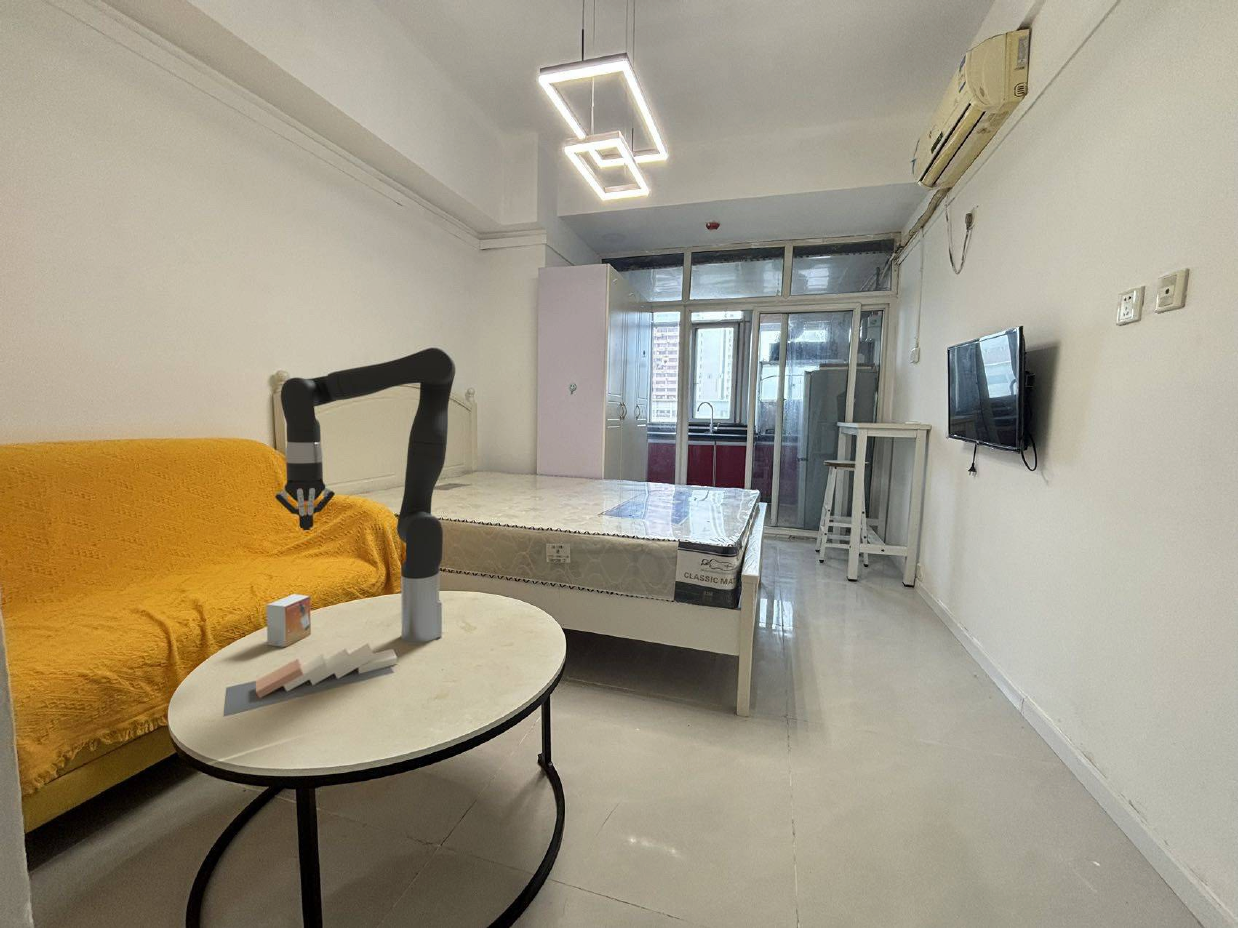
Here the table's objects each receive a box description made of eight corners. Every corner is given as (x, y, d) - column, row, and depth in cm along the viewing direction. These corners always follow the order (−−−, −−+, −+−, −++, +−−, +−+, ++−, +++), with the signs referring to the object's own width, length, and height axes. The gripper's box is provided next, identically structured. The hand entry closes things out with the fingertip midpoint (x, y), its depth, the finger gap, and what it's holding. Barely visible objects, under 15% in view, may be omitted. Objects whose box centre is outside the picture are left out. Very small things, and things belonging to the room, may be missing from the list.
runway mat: (382, 652, 121) (382, 651, 121) (393, 673, 112) (393, 672, 111) (226, 689, 103) (226, 687, 103) (223, 718, 94) (223, 716, 94)
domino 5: (355, 664, 114) (392, 655, 119) (358, 673, 110) (397, 663, 115) (355, 657, 114) (392, 648, 119) (358, 666, 110) (397, 657, 115)
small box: (285, 648, 122) (284, 606, 121) (266, 645, 123) (265, 604, 122) (311, 634, 130) (310, 595, 129) (293, 631, 131) (292, 593, 130)
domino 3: (310, 674, 109) (348, 654, 113) (312, 685, 105) (351, 663, 109) (307, 669, 109) (345, 648, 113) (309, 679, 105) (348, 657, 109)
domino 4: (334, 669, 112) (370, 648, 116) (337, 678, 108) (374, 657, 112) (331, 663, 112) (367, 643, 116) (334, 673, 108) (372, 651, 112)
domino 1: (259, 687, 104) (301, 664, 108) (259, 698, 100) (303, 674, 104) (255, 681, 103) (297, 658, 108) (255, 692, 99) (299, 668, 104)
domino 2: (285, 680, 107) (325, 659, 111) (286, 691, 103) (328, 668, 107) (282, 675, 106) (322, 653, 110) (283, 685, 102) (325, 662, 106)
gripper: (272, 462, 114) (274, 536, 116) (337, 461, 122) (338, 529, 124) (271, 459, 121) (273, 529, 122) (333, 458, 128) (335, 524, 130)
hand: (306, 529), depth 123 cm, fingers closed
